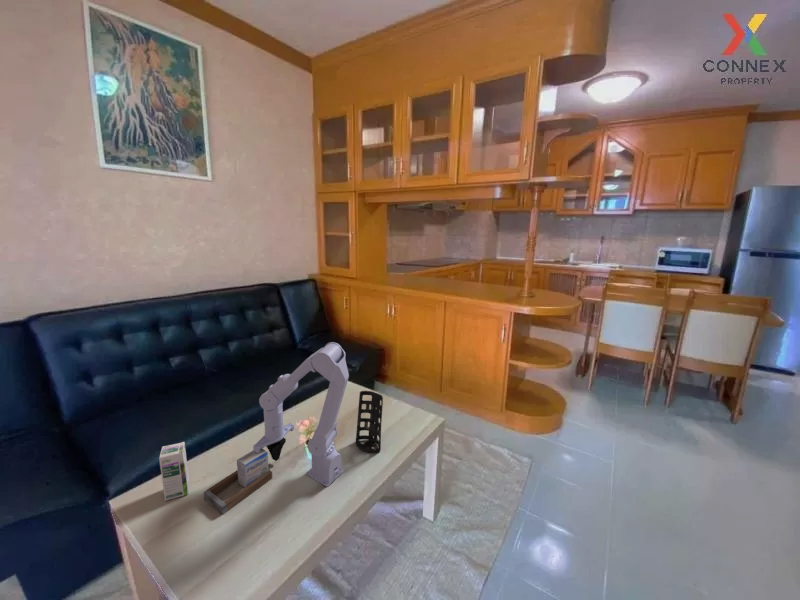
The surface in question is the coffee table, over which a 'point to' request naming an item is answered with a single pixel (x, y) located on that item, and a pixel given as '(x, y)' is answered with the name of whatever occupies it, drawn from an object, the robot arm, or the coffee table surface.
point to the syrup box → (174, 470)
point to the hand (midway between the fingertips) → (275, 458)
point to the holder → (373, 420)
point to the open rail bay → (238, 497)
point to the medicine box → (252, 467)
